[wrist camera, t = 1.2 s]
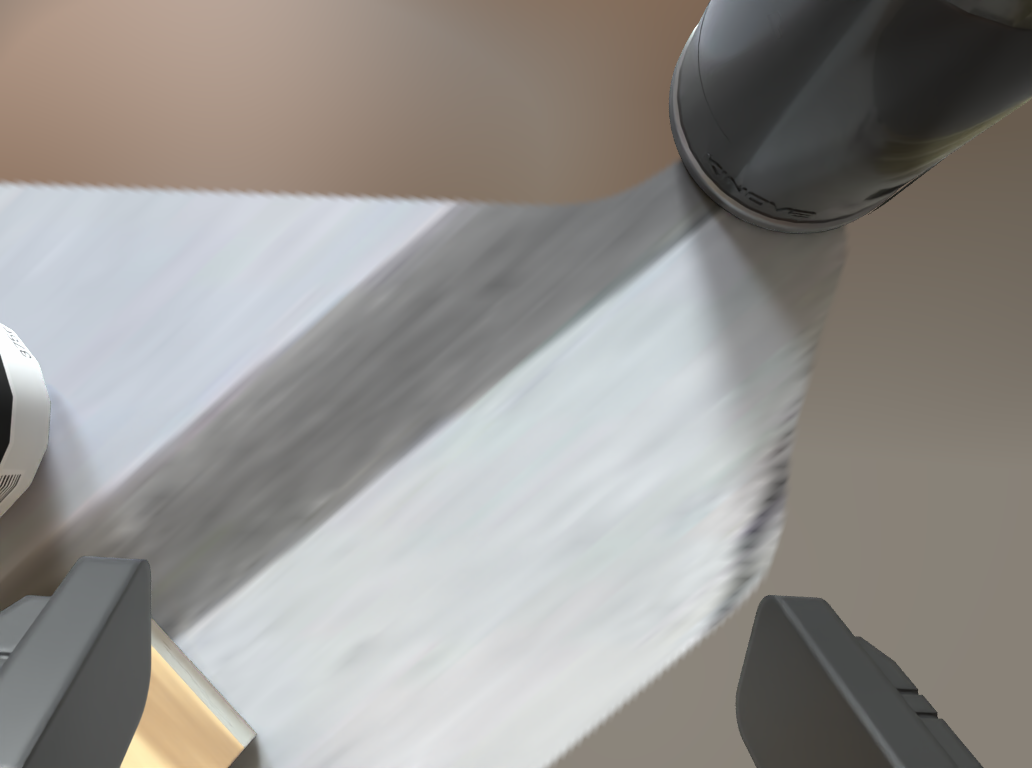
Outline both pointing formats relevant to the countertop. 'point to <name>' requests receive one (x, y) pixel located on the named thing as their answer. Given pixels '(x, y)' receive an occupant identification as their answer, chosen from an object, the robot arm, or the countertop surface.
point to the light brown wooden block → (184, 716)
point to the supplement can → (20, 418)
